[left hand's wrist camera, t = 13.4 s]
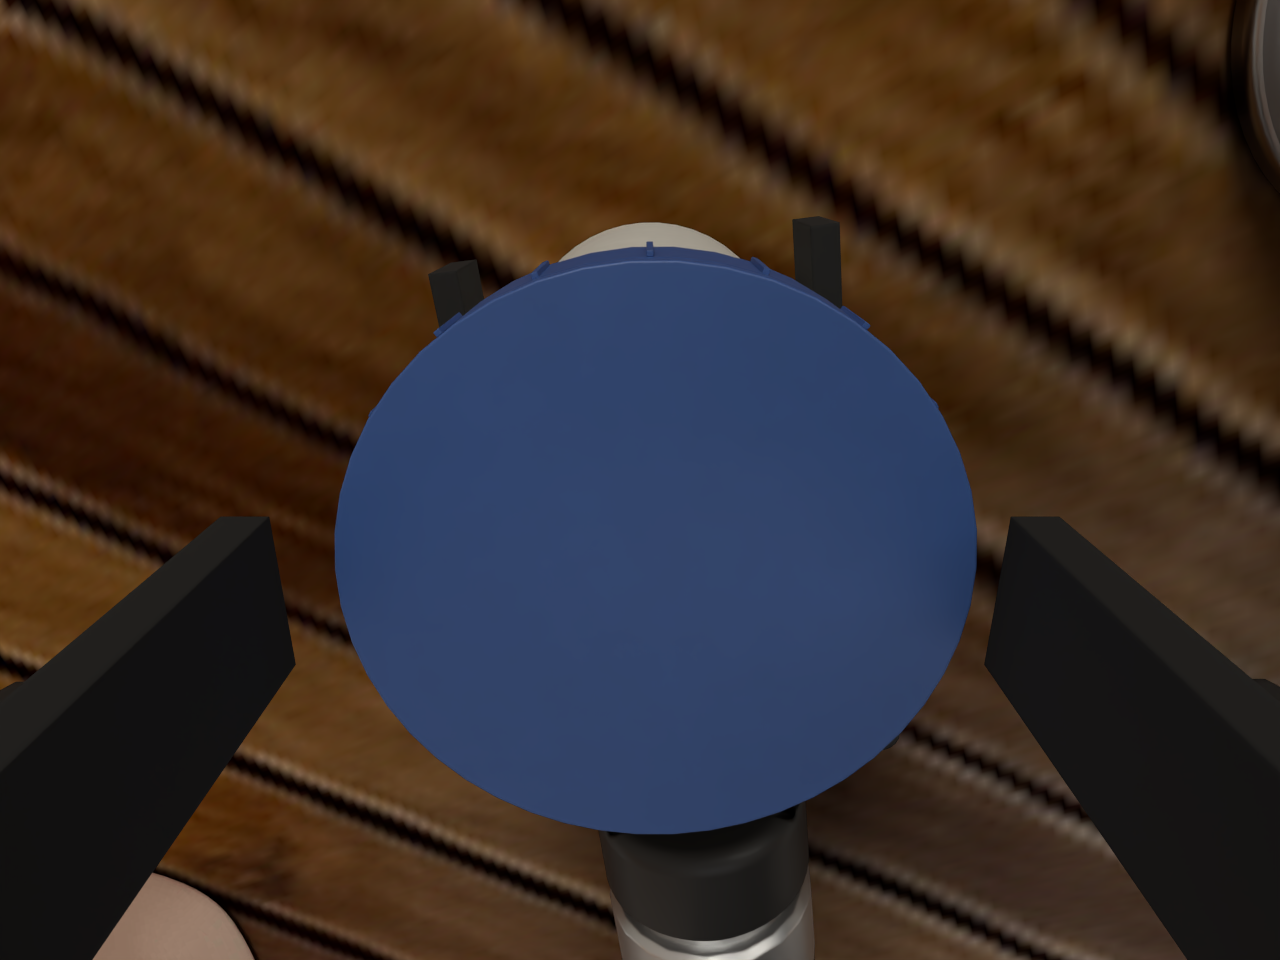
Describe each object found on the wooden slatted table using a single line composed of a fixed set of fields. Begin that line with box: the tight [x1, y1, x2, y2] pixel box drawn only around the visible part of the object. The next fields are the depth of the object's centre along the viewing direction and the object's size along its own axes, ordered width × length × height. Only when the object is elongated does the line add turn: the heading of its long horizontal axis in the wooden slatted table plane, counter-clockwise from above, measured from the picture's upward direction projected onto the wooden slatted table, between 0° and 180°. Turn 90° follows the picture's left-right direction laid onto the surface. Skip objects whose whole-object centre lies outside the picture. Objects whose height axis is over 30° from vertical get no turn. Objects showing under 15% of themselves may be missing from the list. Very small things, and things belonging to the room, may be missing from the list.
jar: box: [559, 223, 740, 262], centre depth 22 cm, size 9×9×17 cm
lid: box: [335, 241, 977, 834], centre depth 14 cm, size 11×11×2 cm
